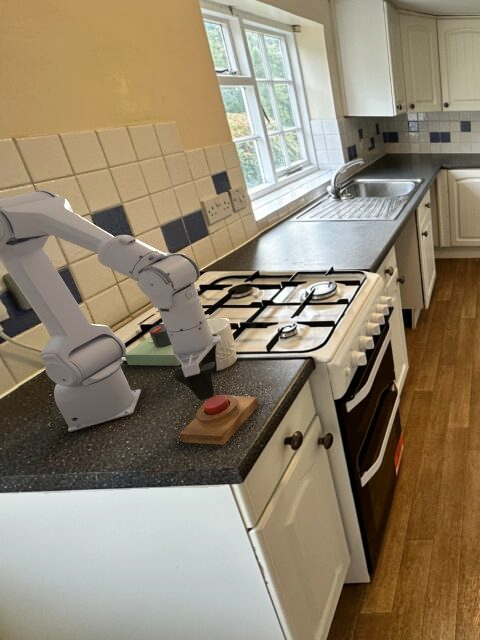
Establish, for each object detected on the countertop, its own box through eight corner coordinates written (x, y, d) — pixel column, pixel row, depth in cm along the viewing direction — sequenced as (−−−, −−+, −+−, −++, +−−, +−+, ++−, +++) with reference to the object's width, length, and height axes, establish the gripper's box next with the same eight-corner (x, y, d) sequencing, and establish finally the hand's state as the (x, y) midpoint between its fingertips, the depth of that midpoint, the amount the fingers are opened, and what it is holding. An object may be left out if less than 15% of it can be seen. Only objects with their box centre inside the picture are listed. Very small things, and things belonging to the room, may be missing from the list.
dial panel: (128, 365, 96) (123, 353, 95) (162, 340, 105) (158, 330, 104) (178, 365, 96) (174, 354, 95) (208, 341, 105) (205, 330, 104)
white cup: (208, 378, 92) (194, 340, 88) (195, 364, 96) (181, 328, 92) (246, 360, 97) (235, 324, 94) (232, 348, 102) (221, 313, 98)
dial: (164, 336, 101) (158, 321, 100) (182, 337, 101) (176, 322, 100) (149, 347, 97) (143, 332, 96) (168, 347, 97) (162, 332, 96)
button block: (224, 445, 75) (218, 428, 73) (182, 442, 75) (175, 425, 74) (259, 405, 84) (254, 389, 82) (222, 403, 84) (216, 388, 83)
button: (220, 416, 76) (217, 408, 76) (201, 415, 77) (198, 407, 76) (233, 402, 80) (231, 395, 79) (215, 401, 80) (213, 394, 79)
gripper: (210, 336, 68) (232, 400, 73) (216, 300, 80) (235, 358, 85) (156, 349, 65) (183, 415, 70) (171, 309, 76) (193, 369, 81)
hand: (208, 385), depth 77 cm, fingers open, 7 cm apart
